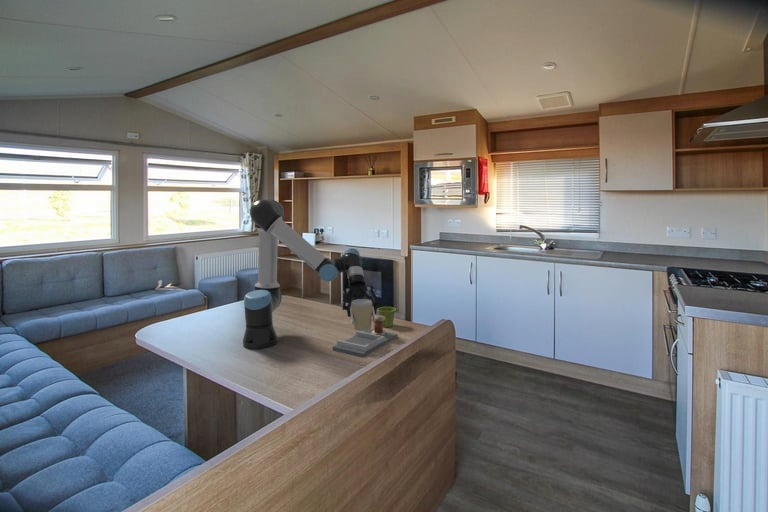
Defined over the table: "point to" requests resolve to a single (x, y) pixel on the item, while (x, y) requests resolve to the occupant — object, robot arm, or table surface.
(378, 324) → the wooden bobbin
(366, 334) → the gray board
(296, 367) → the table surface
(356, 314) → the coffee cup
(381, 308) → the plant pot
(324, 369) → the table surface
